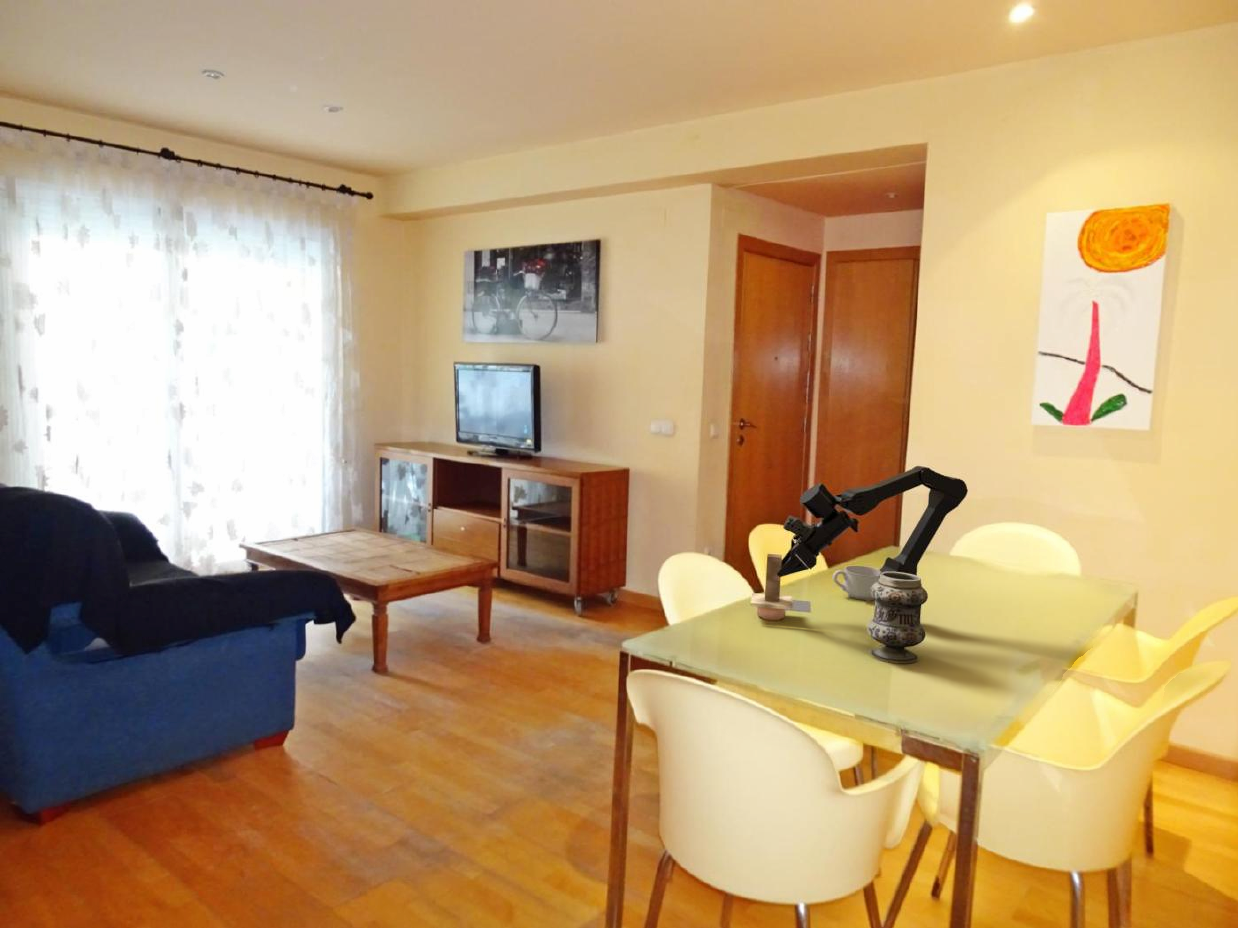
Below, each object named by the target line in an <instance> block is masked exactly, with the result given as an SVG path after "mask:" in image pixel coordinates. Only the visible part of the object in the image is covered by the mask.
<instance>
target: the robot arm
mask: <svg viewBox="0 0 1238 928" xmlns="http://www.w3.org/2000/svg"><path fill="white" fill-rule="evenodd" d="M922 485H923V486H924V487H925V488H927V489H929V491H928V499H927V505H926V506H927V507H926V508H925V510H924V512H923V513H922V515H921V517H920V518H919V520H918V522H917V524H916V526H915V527H914V529H913V531H912V532H911V534H910V535H909V537H908V539H907V541H906V542H905V544H904V546H903V547H902V550H901V551H900V553H899V554H898V555H897V556H895V557H894V558H892V557H889V556H888V557H887V558H886V559H885V560H884V561H885V562H884V563H883V565H882V567H880V568H879V569H880V570H879V571H881V573H882V572H901V573H908V574H912V575H916V576H918V564H919V563H920V561H921V560H922V558H923V556H924V554H925V552H926V550H927V549H928V547H929V546H930V544H931V542H932V541H933V539H934V537H935V535H936V534H937V533H938V530H939V528H940V527H941V525H942V524H943V522H944V520H945V518H946V516H948V514H949V513H951V512H952V511H953V510H955V509H956V508H958V507H959V506H960V505H961V504H962V502H963V501H964V500H965V498H966V497H967V495H968V491H969V490H968V488H967V487H968V486H967V484H966V482H965V481H964V480H963V479H960V478H957V477H952V476H947V475H943V474H942V473H938V472H936V471H935V470H933V469H931V467H926V466H921V465H916V466H914V467H912V468H911V469H909V470H907V471H906V470H905V471H903V472H901V473H899V474H896V475H894V476H890V477H889V478H887V479H885V480H882V481H879V482H876V483H874V484H871V485H862V486H856V487H851V488H847V489H845V490H843V491H842V492H841V493H838V494H834V495H833V494H832V493H831V492H830V491H829V489H827V487H826V486H825V485H824V483H821V482H818V483H817V484H815V485H814V486H811V487H810V488H809V489H807V490H805V491H804V492H803V493H802V494H801V496H800V498H799V503H800V504H801V505H802V506H804V508H805V509H806V510H807V511H808V512H809V513H810V514H811V515H812V516H813V517H814V518H815V519H820V518H821V519H820V520H819V521H818V522H812V524H811V525H810V524H808V523H806V522H805V521H804V520H801V519H800V518H799V517H795V516H793V515H791V514H789V515H788V517H787V518H786V520H785V523H784V524H783V529H784V530H785V531H787V532H791V533H792V534H793V535H792V538H791V540H790V548H789V549H788V552H786V554H785V555H784V556H783V557H782V563H781V569H780V570H779V572H778V573H777V575H778V576H779V577H781V578H782V577H786V576H789V575H792V574H797V573H800V572H803V571H808V570H811V569H813V568H814V567H815V566H816V565H817V562H818V561H817V560H818V559H817V557H818V556H820V553H821V552H823V550H825V549H826V548H827V547H830V546H832V545H833V544H834V543H833V542H834V541H835V540H836V539H837V538H838V537H840V536H841V535H843V534H844V533H845V532H846V531H847V530H848V529H849V528H850V529H851V530H852V531H853V532H854V533H858V532H859V523H860V522H859V520H858V518H856V517H855V518H853V517H851V516H850V515H849V514H853V515H855V516H860V517H861V516H864V515H866V514H868V513H870V512H872V511H873V510H874V509H876V508H878V506H879V505H880V504H881V503H882V502H884V501H885V500H888V499H891V498H893V497H896V496H898V495H900V494H902V493H905V492H907V491H910V490H912V489H914V488H916V487H919V486H922ZM837 507H839V508H841V509H842V510H839V509H838V508H837ZM848 513H849V514H848ZM881 573H880V574H881ZM879 579H880V575H879Z"/></svg>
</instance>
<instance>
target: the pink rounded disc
mask: <svg viewBox="0 0 1238 928" xmlns="http://www.w3.org/2000/svg"><path fill="white" fill-rule="evenodd" d="M786 611H787V610H786V609H777V608H766V607H756V615H757V616H759V617H760V618H761V619H763V620H767V621H778V620H781V619H783V618H785V617H786V613H787V612H786Z"/></svg>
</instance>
